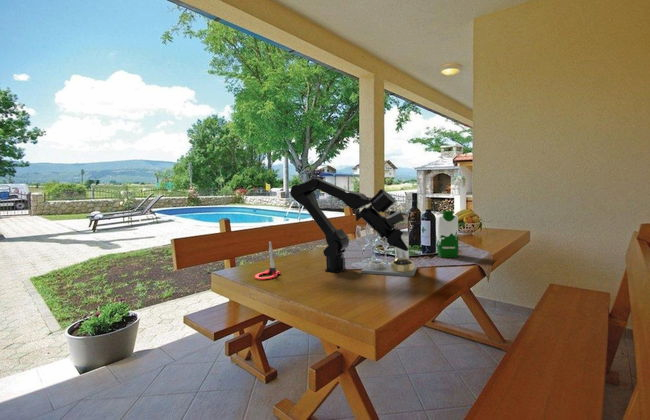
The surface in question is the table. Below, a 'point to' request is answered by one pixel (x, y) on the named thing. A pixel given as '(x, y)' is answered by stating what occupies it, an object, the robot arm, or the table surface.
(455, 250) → the milk carton
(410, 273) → the fitting board
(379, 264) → the narrow aluminium socket
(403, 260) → the disc
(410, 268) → the wide brass socket
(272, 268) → the tow hook
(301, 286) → the table surface
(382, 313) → the table surface
